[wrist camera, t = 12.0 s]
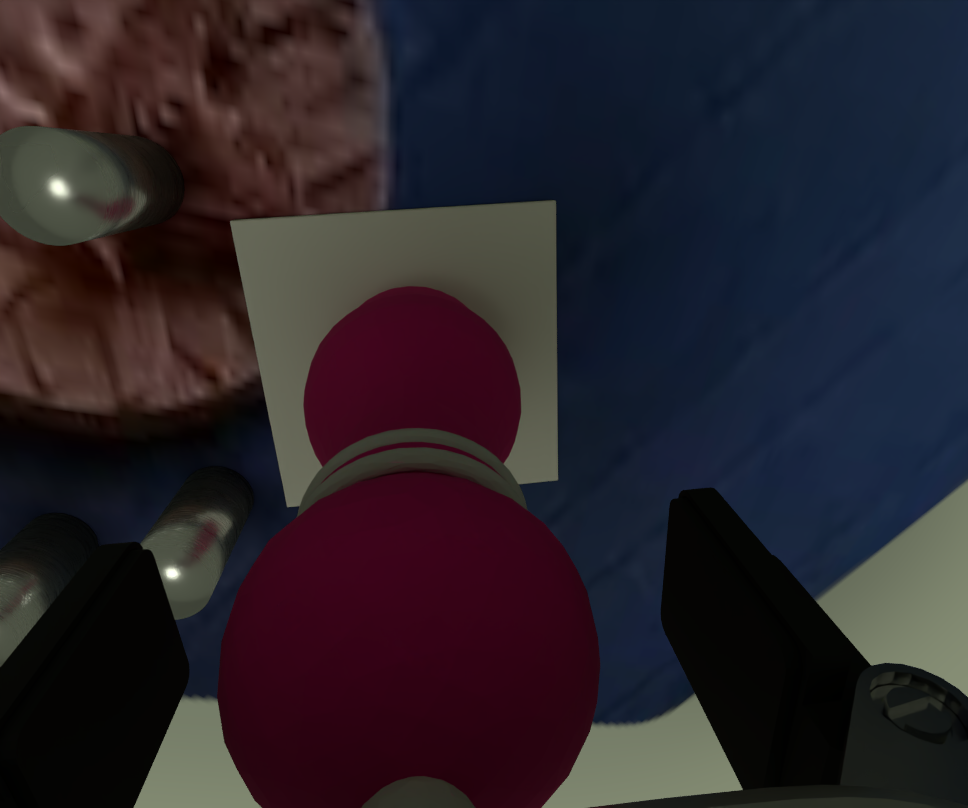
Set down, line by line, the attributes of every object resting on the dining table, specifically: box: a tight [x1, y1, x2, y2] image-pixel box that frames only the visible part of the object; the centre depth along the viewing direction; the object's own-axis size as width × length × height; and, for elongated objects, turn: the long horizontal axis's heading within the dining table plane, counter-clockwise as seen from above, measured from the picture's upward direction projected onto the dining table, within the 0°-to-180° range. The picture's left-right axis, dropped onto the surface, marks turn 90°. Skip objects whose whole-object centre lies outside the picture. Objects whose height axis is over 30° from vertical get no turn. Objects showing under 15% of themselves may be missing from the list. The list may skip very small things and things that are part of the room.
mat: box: [230, 200, 558, 507], centre depth 25 cm, size 12×12×1 cm
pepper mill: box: [217, 286, 600, 808], centre depth 15 cm, size 7×7×20 cm
